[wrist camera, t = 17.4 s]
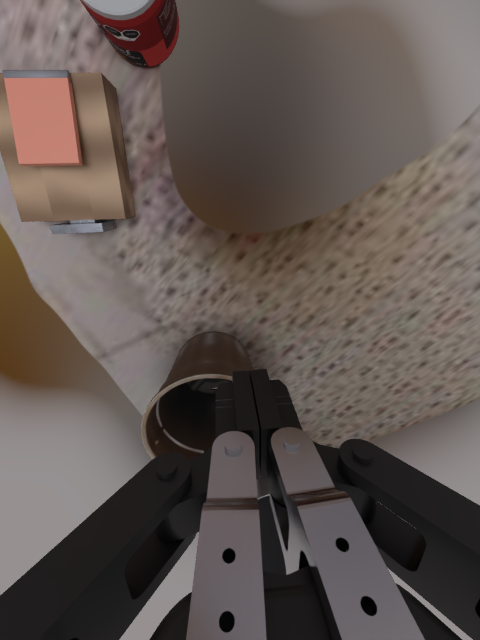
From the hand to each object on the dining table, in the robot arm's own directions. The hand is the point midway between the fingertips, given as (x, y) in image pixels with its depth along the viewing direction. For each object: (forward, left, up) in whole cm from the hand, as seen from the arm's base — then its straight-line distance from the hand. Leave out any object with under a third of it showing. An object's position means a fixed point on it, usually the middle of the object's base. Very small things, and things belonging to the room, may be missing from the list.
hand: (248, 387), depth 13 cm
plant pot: (-18, +3, -32) cm, 37 cm away
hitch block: (+13, +18, -32) cm, 39 cm away
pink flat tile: (+15, +18, -27) cm, 35 cm away
